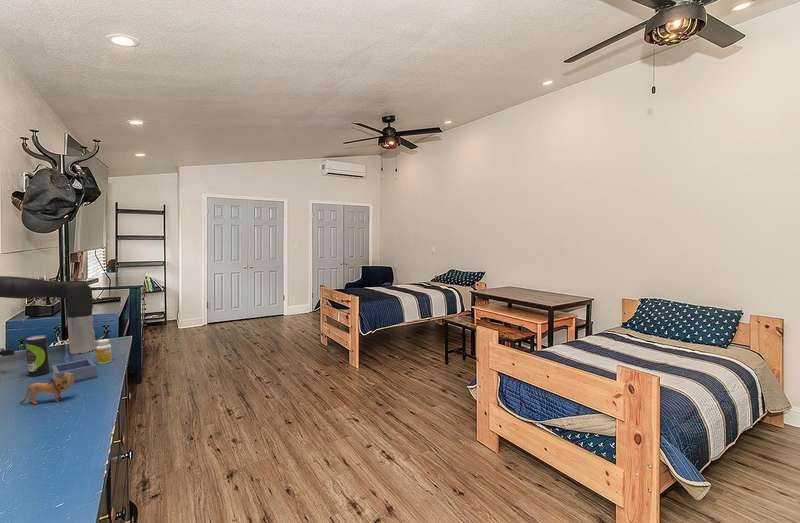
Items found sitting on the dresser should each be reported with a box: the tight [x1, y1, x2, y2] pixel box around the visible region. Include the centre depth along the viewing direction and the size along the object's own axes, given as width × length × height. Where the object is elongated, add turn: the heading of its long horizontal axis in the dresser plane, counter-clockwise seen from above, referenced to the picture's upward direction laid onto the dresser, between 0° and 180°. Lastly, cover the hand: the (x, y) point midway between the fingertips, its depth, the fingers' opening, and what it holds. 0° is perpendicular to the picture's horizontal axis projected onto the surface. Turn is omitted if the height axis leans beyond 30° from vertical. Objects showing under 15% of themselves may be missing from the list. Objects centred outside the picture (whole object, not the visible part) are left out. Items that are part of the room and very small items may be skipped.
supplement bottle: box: [95, 338, 113, 365], centre depth 171 cm, size 5×5×10 cm
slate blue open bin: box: [50, 358, 98, 384], centre depth 152 cm, size 12×12×5 cm
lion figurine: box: [18, 372, 74, 405], centre depth 132 cm, size 15×5×9 cm, turn 117°
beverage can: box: [25, 335, 50, 377], centre depth 156 cm, size 6×6×15 cm
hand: (7, 355), depth 153 cm, fingers open, 8 cm apart
